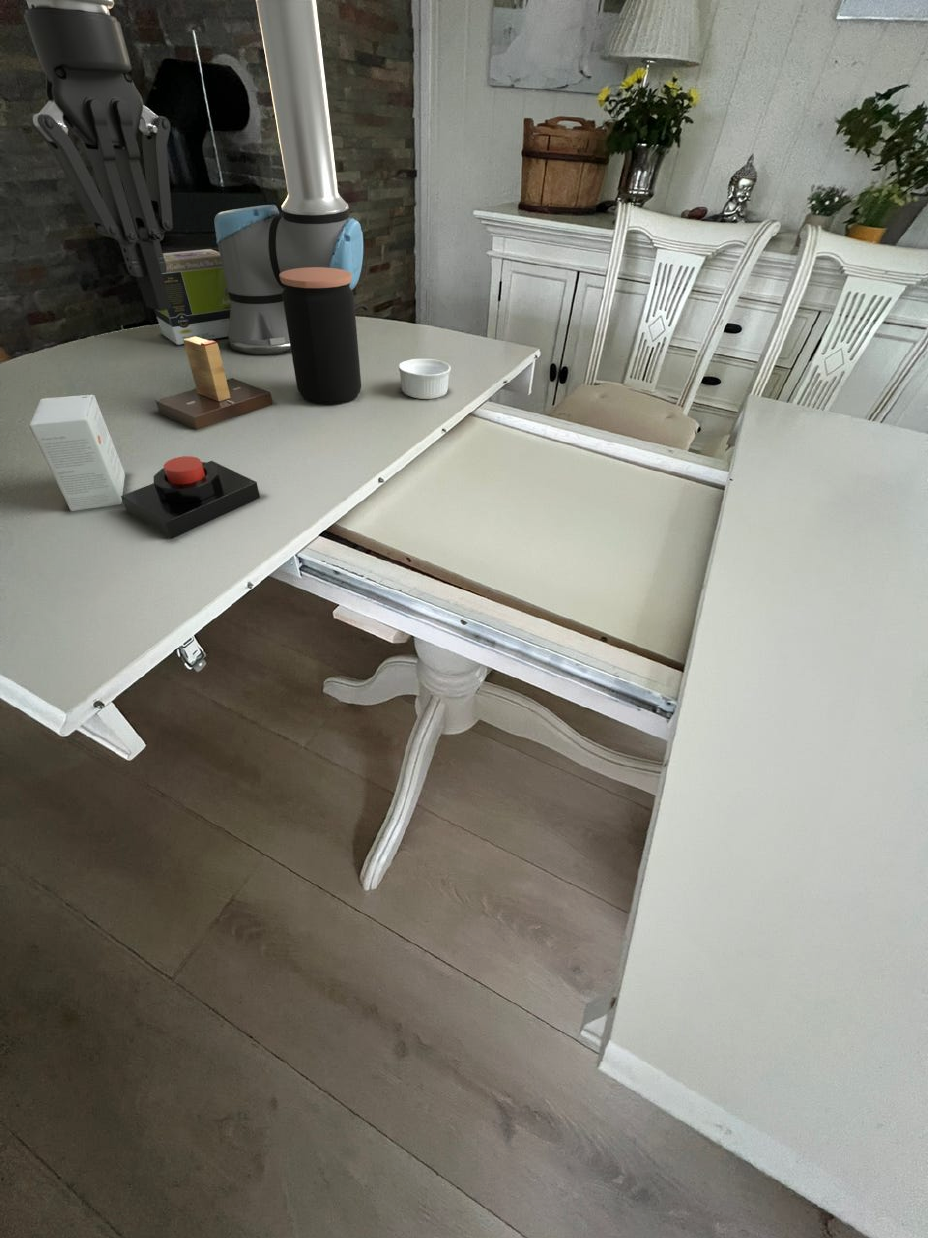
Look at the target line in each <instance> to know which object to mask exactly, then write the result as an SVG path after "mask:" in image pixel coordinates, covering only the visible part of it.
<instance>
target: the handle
mask: <svg viewBox="0 0 928 1238" xmlns="http://www.w3.org/2000/svg"><path fill="white" fill-rule="evenodd" d="M183 341H184V344H183V345H184V349H185V352H186V356H187V359H188V364H189V366H190V371H191V374H192V378H193V381H194V384H195V388H196V389H197V392H198V394H201V395H203V396H206V397H208V398H211V399H213V400H216V401H218V402H219V401H223V400H226V399H229V398H231V397H230V393H229V389H228V385H227V376H226V373H225V368H224V364H223V359H222V354H221V351H220V348H219V343H217V342H216V341H215V340H213V339H211V340H205V339H202V338H199V337H196V336H195V337H191V338H187V339H183Z"/></svg>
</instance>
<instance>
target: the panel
mask: <svg viewBox="0 0 928 1238" xmlns="http://www.w3.org/2000/svg"><path fill="white" fill-rule="evenodd" d="M226 380H227V385H228V389H229V393H230V397H231V398H229V399H226V400H223V401H219V402H218V401H216V400H213V399H211V398H208V397H206V396H203V395H201V394H198V392H197V389H196V387H195V388H193V389H189V390H186V391H184V392H183V391H182V392H179V393H177V394H173V395H170V396H167V397H162V398H160V399H156V400H155V403H156V407H157V410H158V413H159V414H160V415H163V416H165V417H166V418H167V417H168V418H169V419H171V420H174V421H176V422H178V423H180V424H182V425H185V426H187V427H189V428H191V429H194V430H197V431H199V430H201V429H204V428H207V427H210V426H213V425H215V424H218V423H222V422H224V421H227V420H230V419H233V418H236V417H239V416H242V415H246V414H248V413H252V412H254V411H256V410H257V411H258V410H260V409H263V408H267V407H269V406H272V405H274V404H273V397H272V393H271V391H269V390H266V389H264V388H260V387H258V386H256V385H252V384H249V383H247V382H244V381H241V380H239V379H236V378H234V377H231V378H228V379H227V378H226Z"/></svg>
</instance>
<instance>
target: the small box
mask: <svg viewBox="0 0 928 1238" xmlns="http://www.w3.org/2000/svg"><path fill="white" fill-rule="evenodd" d="M28 427H29V429H30V431H31V433H32V435H33V437H34V439H35V440H36V443H37V445H38V447H39V449H40V451H41V454H42V455H43V457H44V459H45V461H46V463H47V465H48V467H49V469H50V472H51V474H52V475H53V477H54V480H55V482H56V484H57V486H58V488H59V490H60V492H61V494H62V496H63V498H64V500H65V502H66V505H67V506H68V509H69V510H70V512H75V511H83V510H91V509H98V508H104V507H105V508H106V507H111V506H118V505H122V504H123V501H122V498H121V496H122V495H124V486H125V476H126V473H125V470H124V467H123V465H122V463H121V460H120V458H119V455H118V452H117V450H116V447H115V445H114V442H113V439H112V437H111V434H110V432H109V429H108V427H107V424H106V422H105V419H104V417H103V414H102V412H101V409H100V406H99V403H98V401H97V399H96V395H94V394H83V395H69V396H56V397H45V398H44V397H43V398H40V399H39V402H38V404H37V407H36V409H35V411H34V414H33V415H32V417H31V420H30V422H29V425H28Z"/></svg>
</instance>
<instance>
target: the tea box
mask: <svg viewBox="0 0 928 1238" xmlns="http://www.w3.org/2000/svg"><path fill="white" fill-rule="evenodd" d="M163 256H164V259H165V263H166V267H167V273H162V276H163V279H164V283H165V286H166V290H167V293H168V297H169V300H170V304H171V307H172V309H167V310H162V311H159V310H155V309H153V310H154V313H155V316H156V320H157V323H158V326H159V328H160V331H161V333H162V335H163V336H164V337H165V338H167V339H169V340H170V341H171V342H172V343H174V344H175V345H177V346H180V345H184V341H183V339H187V338H191V337H195V336H196V337H199V338H202V339H205V340H208V341H211V340H216V339H221V338H229V337H228V336H229V323H230V310H231V302H230V297H229V292H228V288H227V283H226V279H225V274H224V270H223V265H222V261H221V256H220V252H219V251H218V250H217V251H216V250H213V249H212V248H205V249H195V250H185V251H184V250H183V251H175V252H173V251H172V252H163Z"/></svg>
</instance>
